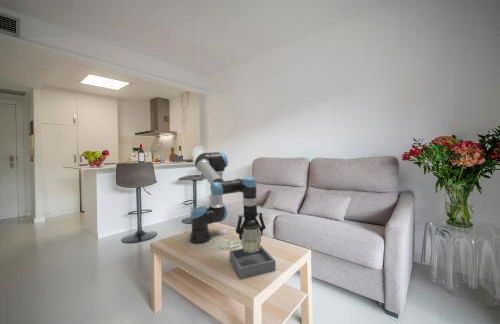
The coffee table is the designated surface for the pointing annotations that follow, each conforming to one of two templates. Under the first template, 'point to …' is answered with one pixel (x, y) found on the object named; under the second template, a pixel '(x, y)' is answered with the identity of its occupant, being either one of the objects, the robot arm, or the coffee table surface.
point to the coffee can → (251, 237)
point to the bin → (251, 262)
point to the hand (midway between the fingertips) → (251, 242)
